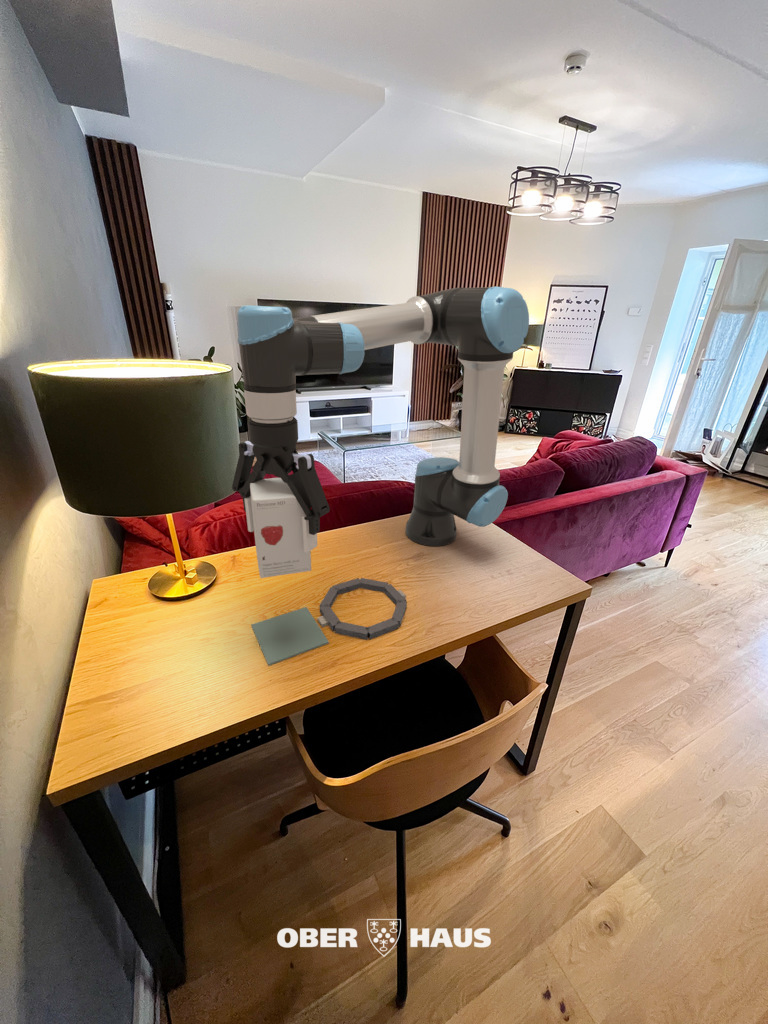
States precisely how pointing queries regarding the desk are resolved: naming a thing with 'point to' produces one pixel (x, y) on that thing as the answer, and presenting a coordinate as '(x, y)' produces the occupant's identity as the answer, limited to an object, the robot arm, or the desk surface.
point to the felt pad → (288, 635)
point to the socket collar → (357, 630)
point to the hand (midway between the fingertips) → (281, 538)
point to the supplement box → (278, 529)
